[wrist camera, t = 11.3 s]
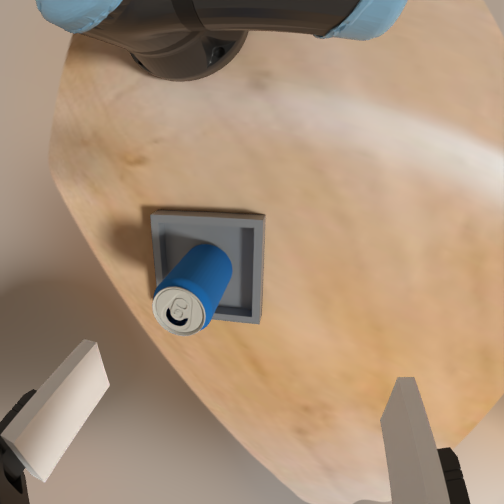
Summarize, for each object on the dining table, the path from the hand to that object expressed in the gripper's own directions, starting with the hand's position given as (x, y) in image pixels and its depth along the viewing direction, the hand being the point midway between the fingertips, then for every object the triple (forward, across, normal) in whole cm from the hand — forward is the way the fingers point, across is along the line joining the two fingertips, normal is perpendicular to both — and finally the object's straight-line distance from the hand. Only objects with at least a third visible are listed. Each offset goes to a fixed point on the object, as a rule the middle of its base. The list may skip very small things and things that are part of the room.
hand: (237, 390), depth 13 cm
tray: (+29, -9, -7) cm, 31 cm away
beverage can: (+28, -9, -7) cm, 31 cm away
